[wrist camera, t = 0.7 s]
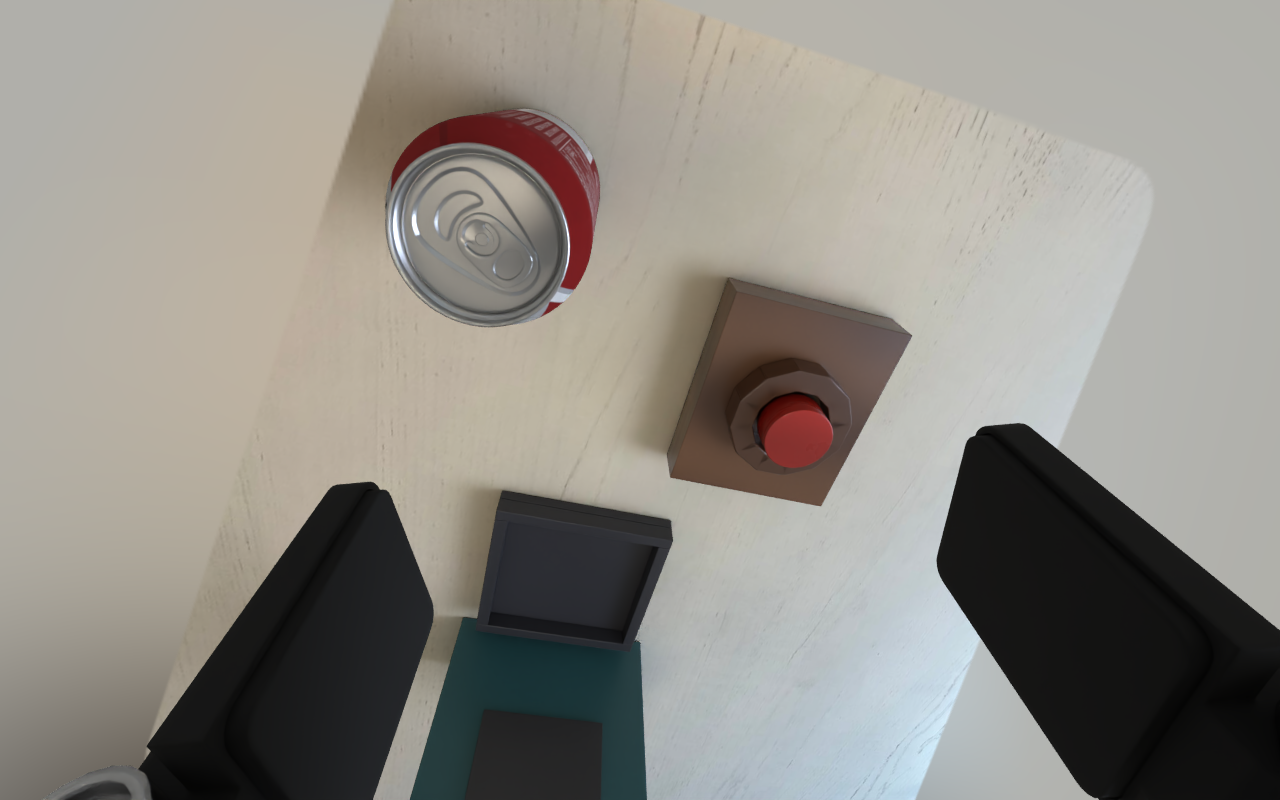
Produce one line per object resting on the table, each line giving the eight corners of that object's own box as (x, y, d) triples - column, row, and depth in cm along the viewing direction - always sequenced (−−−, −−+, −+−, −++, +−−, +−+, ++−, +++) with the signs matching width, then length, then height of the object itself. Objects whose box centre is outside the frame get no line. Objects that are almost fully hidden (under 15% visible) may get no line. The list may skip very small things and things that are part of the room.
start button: (771, 387, 29) (779, 403, 28) (833, 401, 30) (844, 418, 28) (747, 442, 31) (754, 461, 29) (806, 455, 31) (816, 473, 30)
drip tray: (502, 490, 36) (496, 510, 35) (670, 520, 38) (673, 540, 36) (480, 608, 42) (475, 631, 40) (629, 630, 43) (630, 652, 42)
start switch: (728, 277, 30) (743, 301, 26) (893, 319, 31) (927, 347, 28) (666, 455, 35) (672, 494, 32) (809, 483, 37) (829, 523, 33)
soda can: (527, 73, 25) (462, 57, 14) (628, 190, 27) (636, 249, 17) (433, 180, 27) (316, 236, 16) (536, 280, 29) (491, 382, 19)
